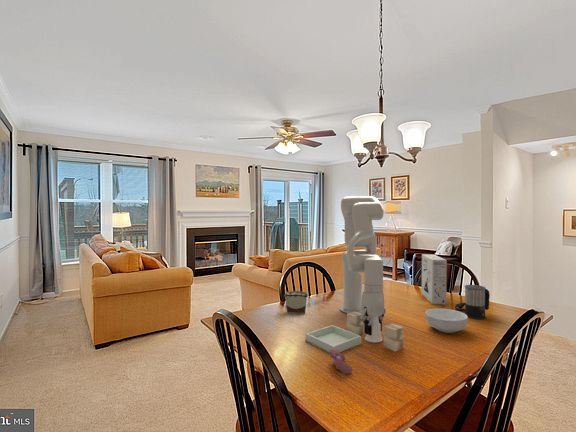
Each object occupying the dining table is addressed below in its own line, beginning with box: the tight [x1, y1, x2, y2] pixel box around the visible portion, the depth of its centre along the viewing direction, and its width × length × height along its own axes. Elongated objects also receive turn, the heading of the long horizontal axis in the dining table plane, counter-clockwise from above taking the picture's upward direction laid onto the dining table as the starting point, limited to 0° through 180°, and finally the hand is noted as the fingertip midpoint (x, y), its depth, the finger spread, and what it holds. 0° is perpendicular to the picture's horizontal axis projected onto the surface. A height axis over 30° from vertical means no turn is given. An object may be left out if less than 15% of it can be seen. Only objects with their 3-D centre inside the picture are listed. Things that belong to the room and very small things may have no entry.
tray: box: [304, 324, 362, 354], centre depth 127 cm, size 16×16×3 cm
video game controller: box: [328, 348, 353, 375], centre depth 107 cm, size 10×5×7 cm, turn 5°
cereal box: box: [421, 253, 448, 306], centre depth 188 cm, size 22×8×25 cm, turn 172°
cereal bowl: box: [425, 308, 469, 334], centre depth 141 cm, size 17×17×7 cm
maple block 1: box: [346, 311, 364, 336], centre depth 138 cm, size 5×5×8 cm
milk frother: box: [455, 284, 491, 320], centre depth 162 cm, size 14×16×15 cm
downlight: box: [362, 316, 384, 344], centre depth 130 cm, size 8×7×10 cm
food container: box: [283, 290, 309, 314], centre depth 166 cm, size 12×6×10 cm, turn 84°
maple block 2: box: [383, 323, 404, 352], centre depth 123 cm, size 5×5×8 cm
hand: (373, 331), depth 130 cm, fingers closed on downlight, 5 cm apart
